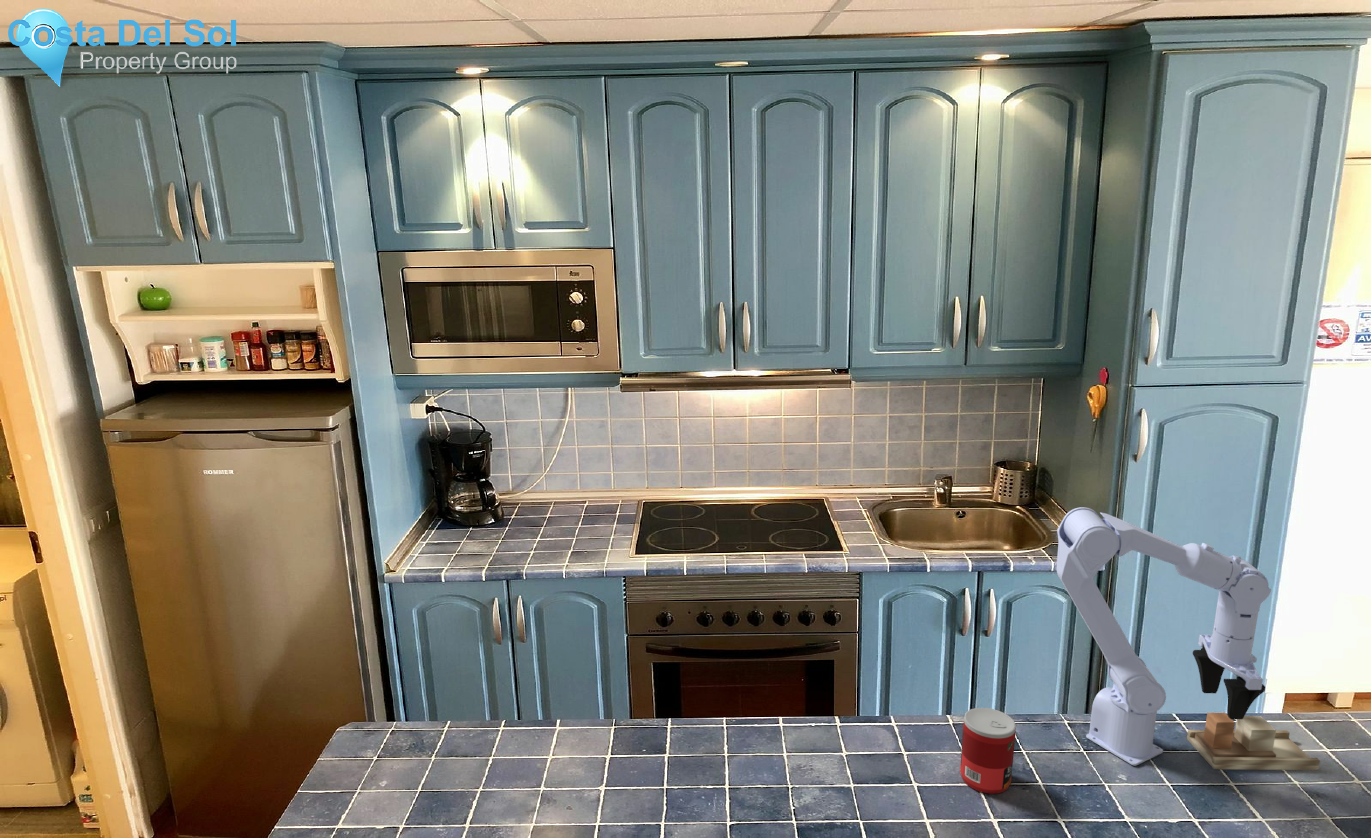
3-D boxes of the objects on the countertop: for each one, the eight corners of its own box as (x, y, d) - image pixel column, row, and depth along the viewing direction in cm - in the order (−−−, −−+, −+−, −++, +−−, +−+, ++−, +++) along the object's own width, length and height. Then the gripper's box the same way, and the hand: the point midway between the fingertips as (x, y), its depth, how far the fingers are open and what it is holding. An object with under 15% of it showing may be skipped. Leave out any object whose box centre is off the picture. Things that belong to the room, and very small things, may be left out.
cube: (1248, 750, 143) (1251, 729, 142) (1234, 736, 147) (1237, 716, 146) (1272, 751, 143) (1276, 730, 142) (1257, 736, 147) (1261, 716, 146)
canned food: (1014, 798, 135) (1020, 737, 133) (962, 792, 137) (966, 731, 134) (1006, 767, 143) (1011, 709, 140) (957, 762, 144) (961, 704, 142)
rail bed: (1214, 769, 141) (1215, 759, 141) (1186, 738, 150) (1188, 729, 149) (1318, 770, 141) (1320, 760, 140) (1285, 739, 149) (1286, 730, 149)
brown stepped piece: (1214, 759, 142) (1219, 727, 141) (1194, 737, 148) (1199, 707, 147) (1275, 759, 142) (1280, 728, 141) (1253, 738, 148) (1258, 707, 146)
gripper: (1287, 654, 133) (1273, 730, 136) (1232, 611, 147) (1221, 681, 150) (1241, 653, 133) (1228, 730, 136) (1190, 611, 147) (1180, 681, 150)
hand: (1221, 704), depth 143 cm, fingers open, 7 cm apart
